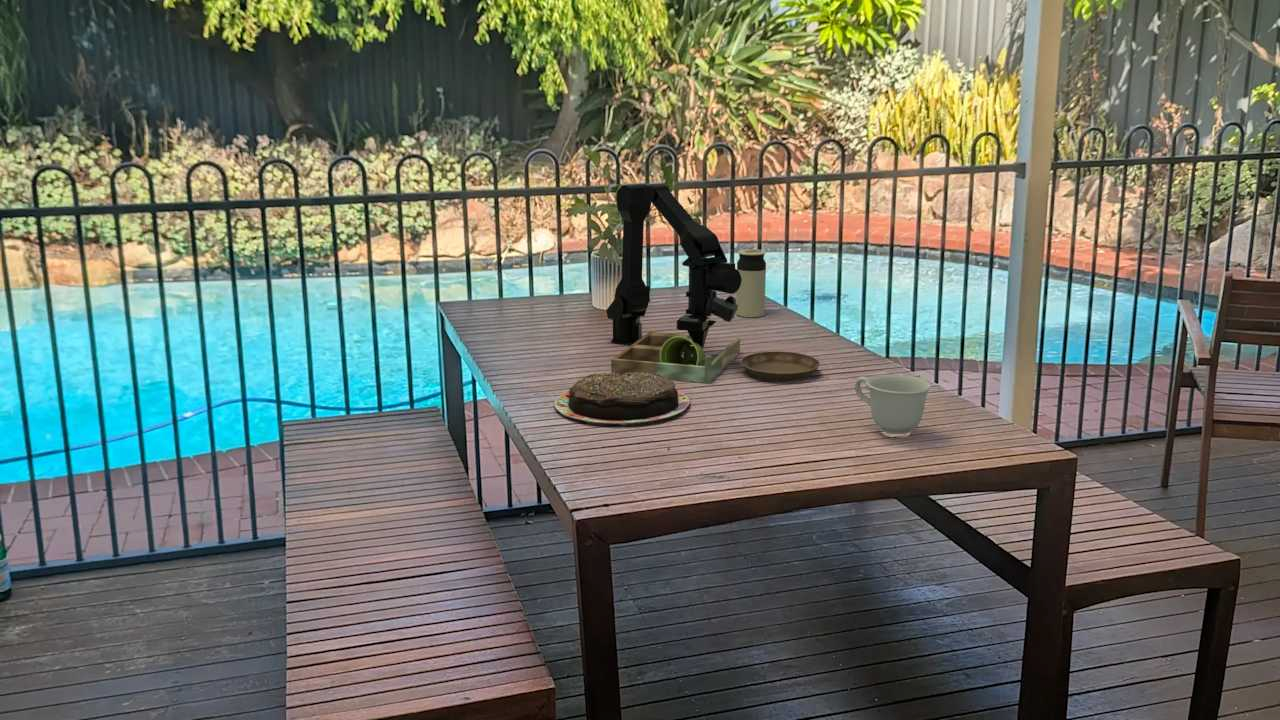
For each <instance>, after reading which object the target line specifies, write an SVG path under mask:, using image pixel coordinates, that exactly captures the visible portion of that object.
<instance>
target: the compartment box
mask: <svg viewBox="0 0 1280 720" xmlns="http://www.w3.org/2000/svg"><path fill="white" fill-rule="evenodd" d="M675 336H682V337H686V338H688V339H690V340H691V341H692V339H691V337H690V335H689V333H688V334H687V333H672V332H660V331H649V332H648V333H646V334H645V335H642V338H641V339H639V340H638V341H636V342H635V343H634V344H630V346H628V347H627V348H625V349H624V350H622V351H621V352H620V353H618V354H617V355H615V356H614V357H612V358H611V360H610V361H611V362H610V364H611V365H610V366H611V367H610V372H611V373H613V372H615V373H616V374H621V373H629V372H630V373H631V372H637V373H641V372H642V373H652V372H654V373H657V374H659V375H661V376H663V377H665V378H666V379H668V380H670V381H678V380H680V381H681V382H689V381H694V382H693V383H700V382H705V383H704V384H711V383H712V381H713V380H714V379H716V377H718V375H719V374H720V373H721V372H722V371H723V370H724V369H725V368H727V366H728V365H729V364H730V363H731V362H732V361H733V360H734V359H735V358H736V357H737V356H738V355H739V354H740V353H741V338H738V337H736V338H735V339H733V341H732V342H730V343H729V344H728V345H727V347H725V348H724V349H723V350H722V351H721V352H720V353H719V354H718V355H717V356H715V357H714V359H712V355H705V357H704V365H700V366H695V365H684V364H672V363H660V350H661V347H662V345H663V344H664V343H665V342H666V341H667V340H668V339H670V338H672V337H675ZM690 346H692V345H690ZM682 354H684V353H683V352H682ZM611 373H610V374H611ZM680 381H679V382H680Z"/></svg>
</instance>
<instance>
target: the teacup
mask: <svg viewBox="0 0 1280 720" xmlns="http://www.w3.org/2000/svg"><path fill="white" fill-rule="evenodd" d="M861 383H864V384H865V387H866V390H868V391H869V397H870V398H869V397H868V396H867V395H865V394H864V393H863V391H862V388H861ZM932 388H933V386H932V383H931V382H929V381H928V380H926V379H924V378H921V377H919V376H913V375H907V374H891V373H889V374H879V375H873V376H871V377H869V378H868V377H867V376H860V377H858V378H857V379H856V381H855V383H854V391H855V394H856V395H857V397H858V398H859V399H860V400H862V401H863V402H865V403H866V404H868V406H869V407H870V411H871V417H872V420H873V422H874V423H875V424H876V425H877V426H878V427H879V428H880V430H882V431H883V432H886V433H889V434H906V433H909V432H910V431H911V430H913V429H915V428H917V427H918V426H919V425H920V423H921V421H922V417H923V414H924V409H925V403H926V400H927V399H926V398H927V395H928V392H929V391H930V390H931V389H932ZM911 432H912V431H911Z"/></svg>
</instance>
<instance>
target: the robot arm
mask: <svg viewBox="0 0 1280 720" xmlns="http://www.w3.org/2000/svg"><path fill="white" fill-rule="evenodd" d="M652 205H653V206H654V207H655V208H656V210H658V212H659V213H660V215H662V217H663V218H664V219H665V220H666V222H667V223H669V225H670V226H671V228H672V229H673V230H674V231H675V232H676V234H677V235H678V237H679V244H680V247H681V248H682V250H683V251H684V253H685V256H687V258H686V259H685V260H684V261H682V266H684V267H688V290H687V291H686V292H685V297H687V298H688V304H687V308H686V309H685V314H684V315H682V316H681V317H679V318H678V320H676V330H678V331H687V333H688V335H690V337H691V341H692V342H695V343H697V344H699V345H700V346H701V347H702V349H703V350H704V347H705V344H706V340H707V336H708V332H709V330H710V328H711V327H712V326H713V325H715V324H716V323H717V321H716V320H712V319H711V316H712V315H713V316H715V317H717V318H720V319H722V320H723V321H725V322H728V323H729V322H731V321H732V320H733V319H734V317H735V315H736V311H737V310H738V305H737V304H736V297H735V296H732V295H733V294H735V293H736V291H738V289H739V288H740V285H741V281H742V277H741V275H740V273H739V271H738V270H737V268H736V263H734V262H728V259H727V257H726V254H725V253H724V250H723V248H722V246H721V244H720V242H719V238H718V237H717V235H716V234H715V233H714V232H713V231H712V230H711V229H710V228H708V227H707V226H704V225H703V224H700V223H699V222H697V221H696V220H694V218H693V217H692V216H691V215H690V214H689V212H688V211H687V210H686V208H684V207H683V205H682V204H681V203H680V202H679V200H678V199H677V198H676V197H675V196H674V195H673V194H672V193H671V189H670V188H669V186H668V185H666V184H665V183H664V184H663V183H661V184H659V183H658V184H653V185H647V184H646V183H636V184H625V185H622V186H620V187H619V189H617V191H616V207H617V208H616V209H617V212H618V213H619V215H620V218H621V219H622V221H623V224H622V225H623V227H622V228H623V230H622V232H623V233H622V265H621V266H622V267H621V268H622V269H621V279H620V281H619V283H618V284H617V286H616V288H615V292H614V299H613V301H612V302H611V303H610V304H609V306H608V307H607V309H606V310H605V312H606V316H607V319H609V320H612V339H611V340H610V343H612V344H623V345H632V344H634V343H635V342H636V341H638V340H639V339H641V338H642V337H643V333H642V332H643V329H642V328H643V324H642V322H641V317H645V315H646V313H647V312H646V311H647V308H648V307H649V303H650V302H651V299H650V294H651V287H650V285H646V283H645V281H644V279H643V263H644V262H643V261H644V259H643V256H644V226H645V221H646V218H647V216H648V215H649V213H650V212H651V208H652ZM718 292H721V293H726V294H730V295H729V296H728V297H727V298H726V299H725V298H720V297H718V295H717V293H718ZM731 294H732V295H731Z"/></svg>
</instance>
